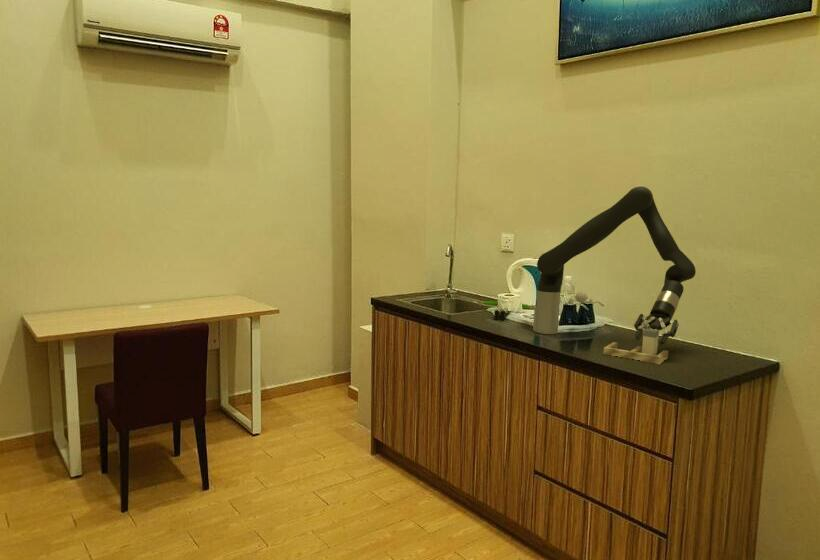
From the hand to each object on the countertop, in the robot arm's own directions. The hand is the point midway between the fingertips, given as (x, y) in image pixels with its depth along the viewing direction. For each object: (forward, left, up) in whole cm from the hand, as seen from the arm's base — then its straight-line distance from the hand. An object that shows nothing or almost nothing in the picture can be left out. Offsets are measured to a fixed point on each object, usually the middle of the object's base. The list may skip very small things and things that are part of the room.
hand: (648, 341), depth 226 cm
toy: (-39, +40, -6) cm, 57 cm away
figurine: (-74, +37, -7) cm, 83 cm away
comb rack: (-4, +1, -6) cm, 8 cm away
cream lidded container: (0, +2, -6) cm, 6 cm away
